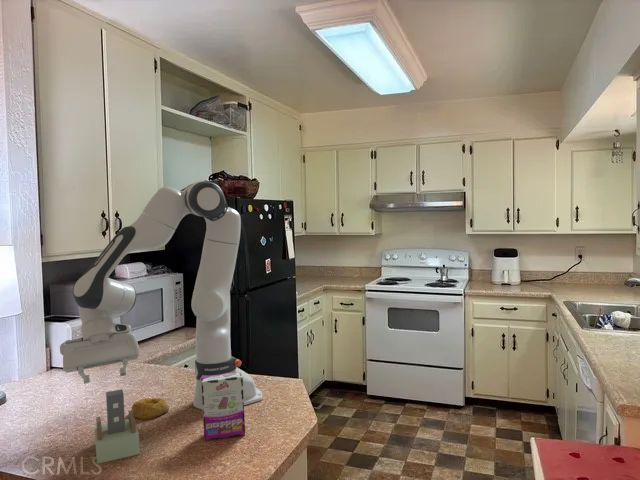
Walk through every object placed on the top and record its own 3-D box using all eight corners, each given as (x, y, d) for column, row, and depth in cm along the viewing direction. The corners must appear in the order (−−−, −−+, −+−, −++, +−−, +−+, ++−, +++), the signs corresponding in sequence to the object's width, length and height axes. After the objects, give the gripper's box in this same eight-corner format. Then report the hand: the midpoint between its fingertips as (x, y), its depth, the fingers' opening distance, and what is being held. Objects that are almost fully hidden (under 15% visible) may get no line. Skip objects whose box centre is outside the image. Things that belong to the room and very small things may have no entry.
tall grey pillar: (124, 426, 129) (122, 389, 128) (125, 431, 126) (123, 393, 125) (107, 429, 127) (105, 392, 127) (108, 434, 124) (106, 396, 123)
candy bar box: (243, 428, 137) (241, 371, 137) (245, 435, 133) (243, 376, 132) (202, 434, 134) (200, 375, 133) (203, 441, 129) (201, 381, 129)
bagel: (168, 417, 146) (167, 402, 146) (129, 422, 144) (128, 406, 144) (170, 405, 156) (169, 391, 156) (134, 410, 153) (133, 395, 153)
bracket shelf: (134, 435, 134) (133, 407, 134) (139, 454, 124) (138, 423, 123) (95, 444, 130) (93, 414, 129) (96, 463, 119) (95, 432, 119)
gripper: (58, 336, 135) (63, 382, 128) (135, 324, 145) (143, 366, 138) (59, 346, 140) (64, 391, 133) (134, 334, 150) (141, 375, 143)
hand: (105, 378), depth 136 cm, fingers open, 8 cm apart
